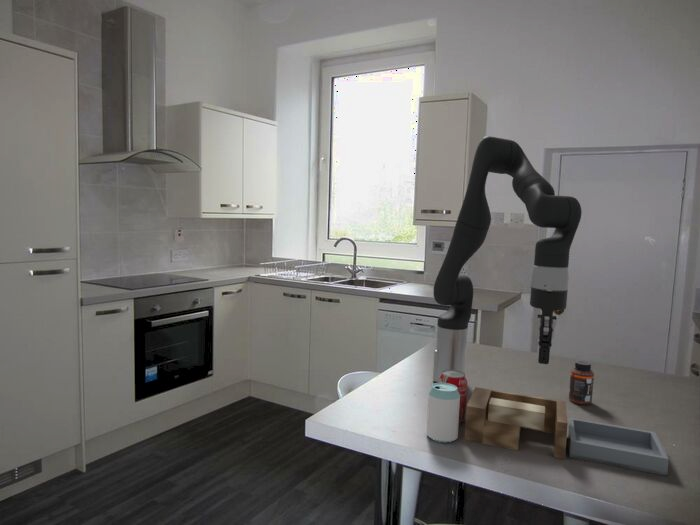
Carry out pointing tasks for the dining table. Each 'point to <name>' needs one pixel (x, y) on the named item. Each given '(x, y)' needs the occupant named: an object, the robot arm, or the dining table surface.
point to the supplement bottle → (581, 383)
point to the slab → (516, 413)
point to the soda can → (461, 383)
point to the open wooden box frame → (510, 434)
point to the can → (443, 412)
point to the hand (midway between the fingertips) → (543, 362)
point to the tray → (616, 446)
